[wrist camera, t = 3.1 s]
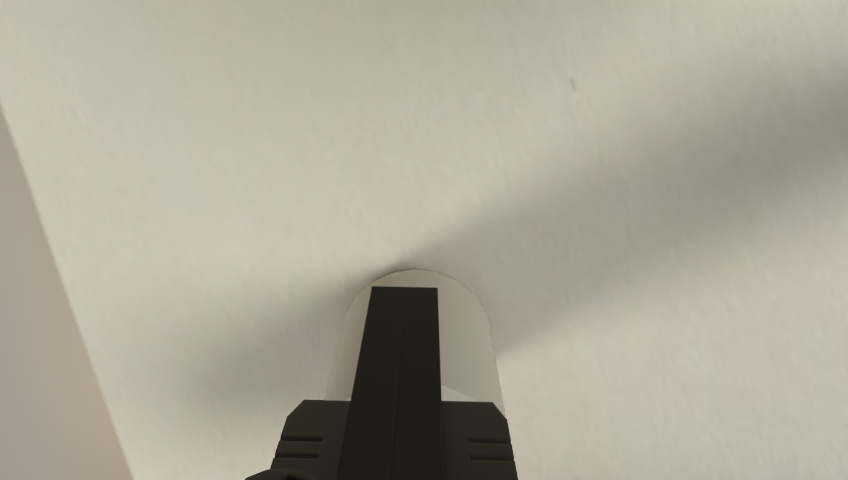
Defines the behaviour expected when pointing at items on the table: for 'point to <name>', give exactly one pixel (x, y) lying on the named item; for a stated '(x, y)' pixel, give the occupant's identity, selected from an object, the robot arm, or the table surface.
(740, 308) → the table surface
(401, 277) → the can
